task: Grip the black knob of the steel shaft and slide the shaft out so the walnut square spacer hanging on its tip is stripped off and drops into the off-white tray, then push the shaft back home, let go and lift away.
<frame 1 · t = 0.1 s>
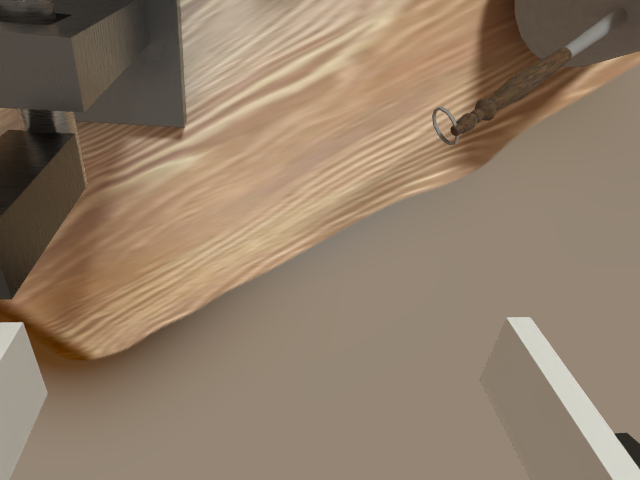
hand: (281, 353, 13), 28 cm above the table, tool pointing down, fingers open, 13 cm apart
coffee pot: (508, 8, 35), on the table
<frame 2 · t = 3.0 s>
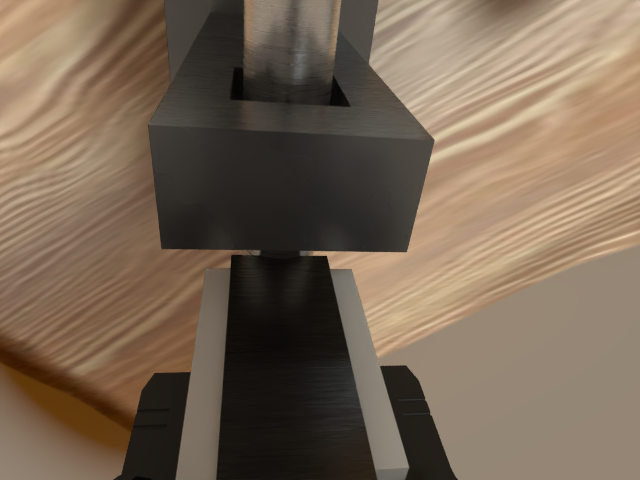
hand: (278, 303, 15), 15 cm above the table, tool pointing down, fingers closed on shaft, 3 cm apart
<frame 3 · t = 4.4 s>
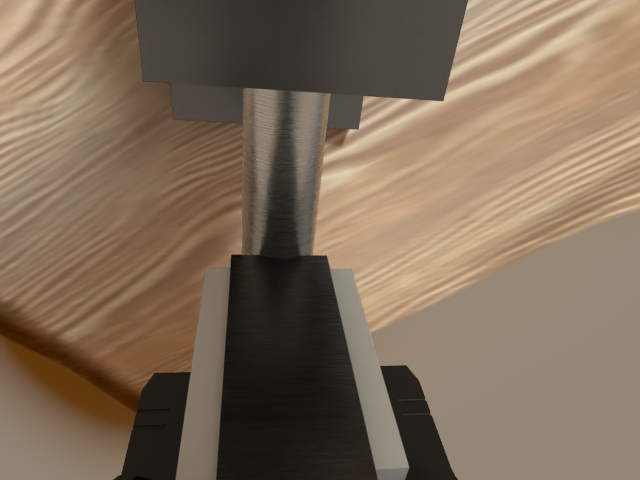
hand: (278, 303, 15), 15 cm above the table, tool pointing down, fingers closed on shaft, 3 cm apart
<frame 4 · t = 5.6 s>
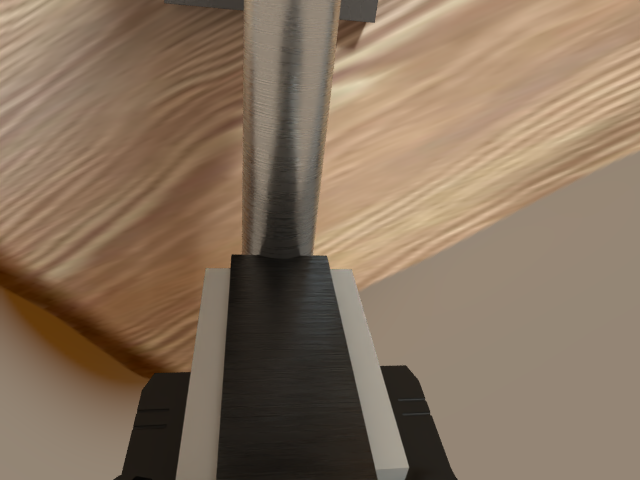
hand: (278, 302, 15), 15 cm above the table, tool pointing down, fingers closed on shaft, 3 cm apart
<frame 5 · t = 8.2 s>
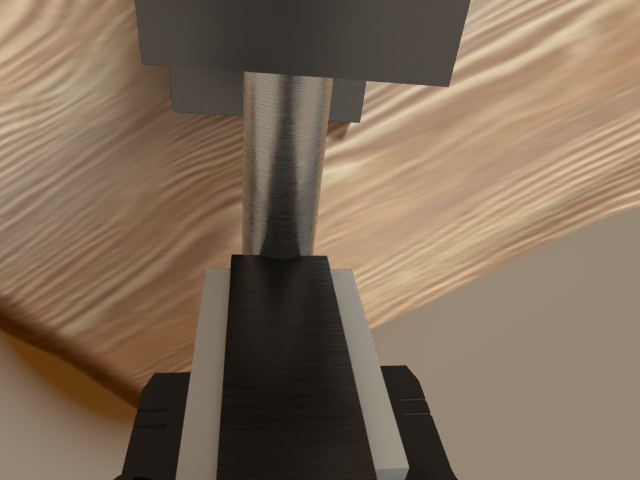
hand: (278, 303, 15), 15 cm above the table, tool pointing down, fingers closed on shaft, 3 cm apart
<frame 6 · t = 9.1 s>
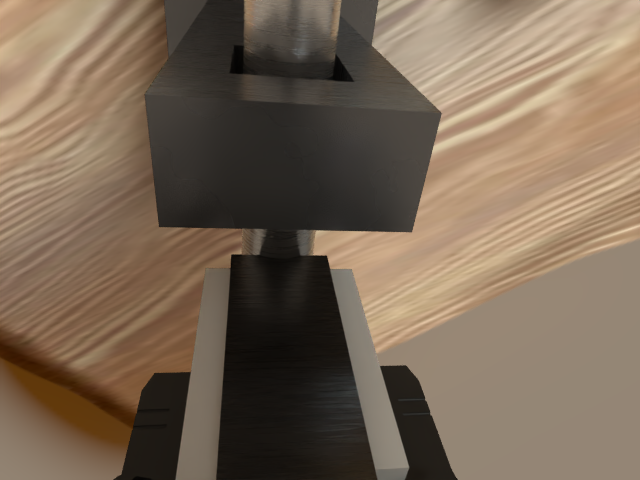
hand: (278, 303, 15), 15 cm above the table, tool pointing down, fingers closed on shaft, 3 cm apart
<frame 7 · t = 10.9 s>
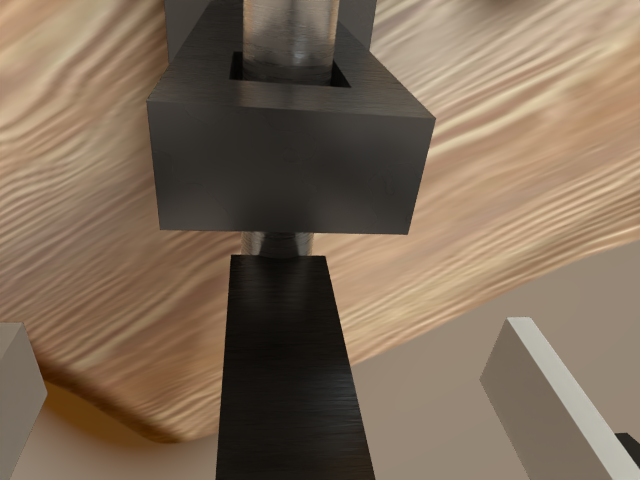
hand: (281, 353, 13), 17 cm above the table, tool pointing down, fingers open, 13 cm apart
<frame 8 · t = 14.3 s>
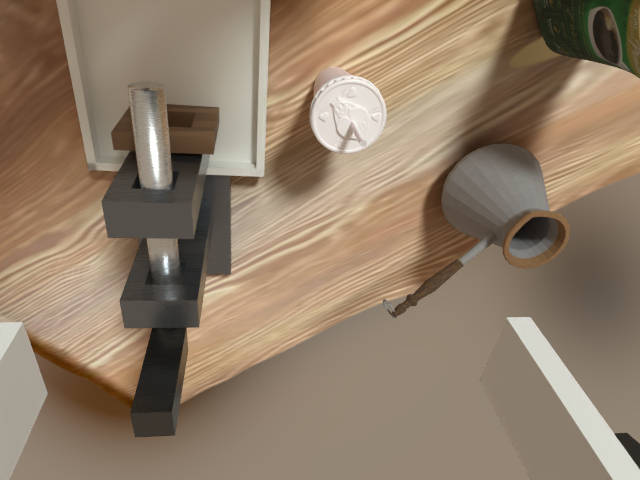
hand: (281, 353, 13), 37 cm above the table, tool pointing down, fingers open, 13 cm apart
smoothie: (332, 85, 46), on the table
shaft: (152, 272, 34), point 17 cm above the table, slide at 0.5 cm
coffee pot: (440, 196, 54), on the table
spacer: (177, 112, 44), point 1 cm above the table, touching tray
shaft stand: (182, 171, 49), on the table
tray: (174, 55, 42), on the table
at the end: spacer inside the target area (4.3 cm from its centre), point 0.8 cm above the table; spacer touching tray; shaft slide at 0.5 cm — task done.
